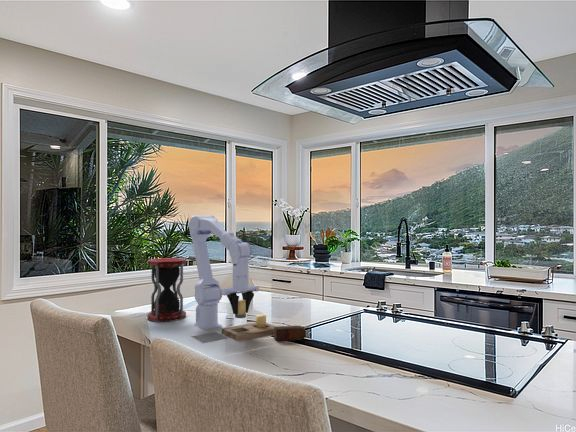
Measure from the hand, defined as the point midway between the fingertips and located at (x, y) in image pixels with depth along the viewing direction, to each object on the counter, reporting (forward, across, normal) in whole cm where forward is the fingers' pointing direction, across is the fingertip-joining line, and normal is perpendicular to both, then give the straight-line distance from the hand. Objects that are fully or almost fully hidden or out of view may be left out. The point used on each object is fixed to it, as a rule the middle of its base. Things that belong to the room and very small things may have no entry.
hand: (240, 313), depth 151 cm
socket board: (+8, +4, 0) cm, 9 cm away
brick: (+9, +11, -15) cm, 21 cm away
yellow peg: (+1, 0, 0) cm, 1 cm away
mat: (+8, -10, +4) cm, 14 cm away
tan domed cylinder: (+8, +9, 0) cm, 12 cm away
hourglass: (+8, -12, +43) cm, 45 cm away
